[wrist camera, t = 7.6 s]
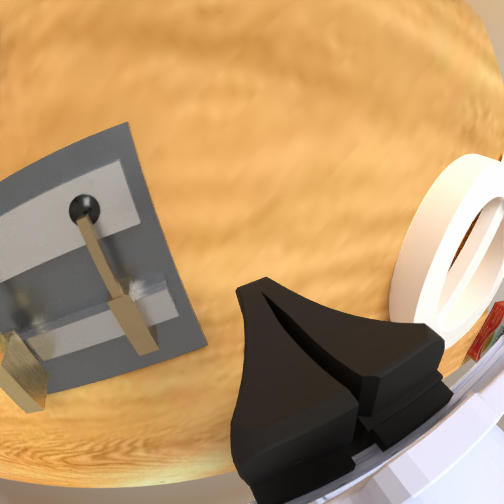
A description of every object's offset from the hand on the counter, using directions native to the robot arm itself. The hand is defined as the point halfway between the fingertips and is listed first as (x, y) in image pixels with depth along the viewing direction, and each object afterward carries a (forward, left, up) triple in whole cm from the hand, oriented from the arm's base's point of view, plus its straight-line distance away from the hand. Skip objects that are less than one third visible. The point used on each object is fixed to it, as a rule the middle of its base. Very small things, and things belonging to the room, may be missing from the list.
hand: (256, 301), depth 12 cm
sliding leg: (-1, +17, -8) cm, 19 cm away
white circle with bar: (-15, -31, -10) cm, 36 cm away
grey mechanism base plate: (-1, +12, -10) cm, 16 cm away
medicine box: (-46, -56, -10) cm, 74 cm away
